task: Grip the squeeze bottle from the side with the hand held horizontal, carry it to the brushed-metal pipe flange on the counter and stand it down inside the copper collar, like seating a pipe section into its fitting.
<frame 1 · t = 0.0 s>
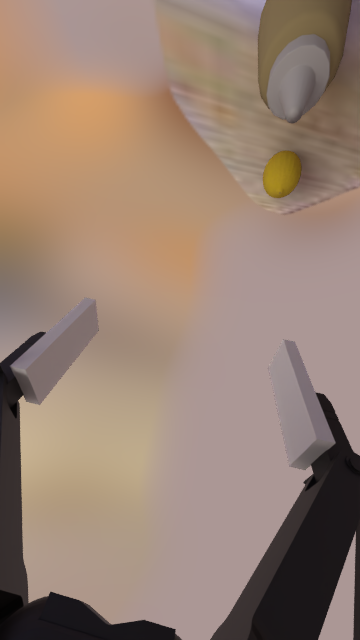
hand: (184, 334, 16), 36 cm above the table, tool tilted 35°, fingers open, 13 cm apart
squeeze bottle: (302, 5, 23), on the table
lemon: (283, 156, 36), on the table
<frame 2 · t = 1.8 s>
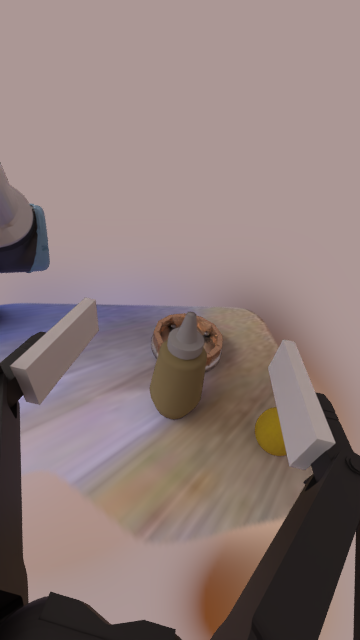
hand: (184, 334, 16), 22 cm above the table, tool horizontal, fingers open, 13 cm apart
squeeze bottle: (172, 403, 36), on the table
lemon: (265, 445, 33), on the table
flange seat: (186, 346, 48), on the table
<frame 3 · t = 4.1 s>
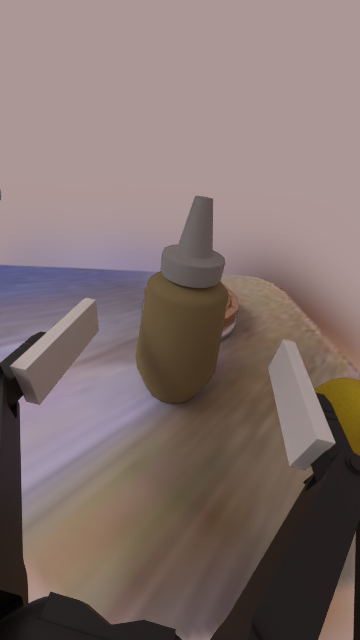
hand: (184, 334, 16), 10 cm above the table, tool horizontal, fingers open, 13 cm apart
squeeze bottle: (171, 382, 24), on the table
lemon: (318, 441, 21), on the table
flange seat: (188, 313, 36), on the table
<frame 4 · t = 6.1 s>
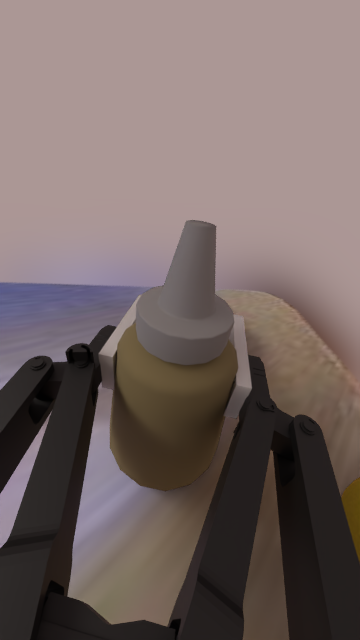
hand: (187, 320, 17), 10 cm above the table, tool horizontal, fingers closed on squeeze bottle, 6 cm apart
squeeze bottle: (160, 449, 19), on the table, touching gripper
lemon: (358, 545, 15), on the table
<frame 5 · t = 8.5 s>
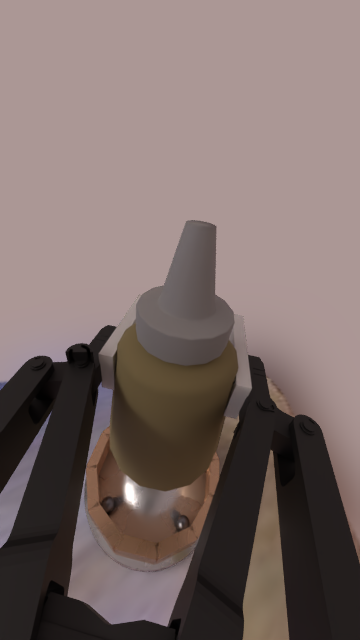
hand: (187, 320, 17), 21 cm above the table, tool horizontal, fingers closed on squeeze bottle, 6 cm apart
squeeze bottle: (160, 449, 19), point 11 cm above the table, touching gripper
flange seat: (153, 476, 26), on the table
when the fingers open (12 cm above the table, at t = 11.1 s): squeeze bottle drops 1 cm, resting on flange seat.
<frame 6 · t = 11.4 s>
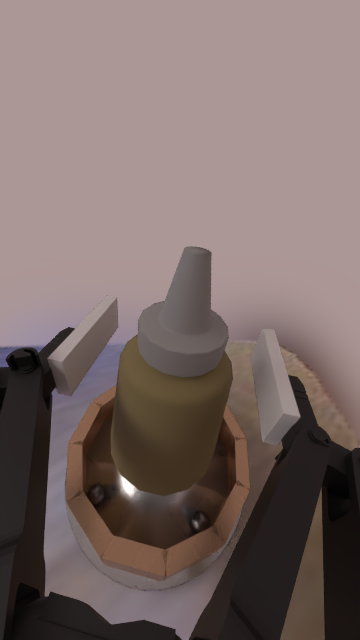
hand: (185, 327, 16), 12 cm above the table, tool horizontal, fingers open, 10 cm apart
squeeze bottle: (159, 455, 19), point 1 cm above the table, touching flange seat
flange seat: (158, 460, 20), on the table
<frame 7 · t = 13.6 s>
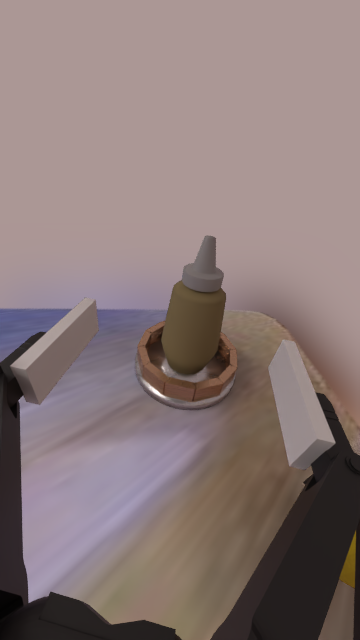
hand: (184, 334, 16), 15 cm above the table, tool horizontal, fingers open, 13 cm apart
squeeze bottle: (185, 361, 33), point 1 cm above the table, touching flange seat
lemon: (325, 547, 19), on the table
flange seat: (185, 365, 34), on the table
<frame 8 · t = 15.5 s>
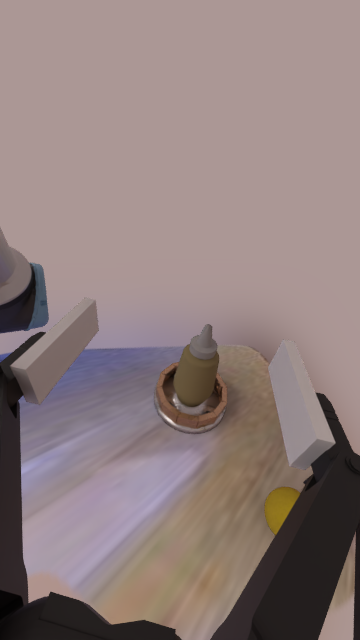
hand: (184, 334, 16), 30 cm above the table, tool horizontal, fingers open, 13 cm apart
squeeze bottle: (190, 395, 46), point 1 cm above the table, touching flange seat
lemon: (275, 522, 32), on the table
flange seat: (189, 398, 46), on the table
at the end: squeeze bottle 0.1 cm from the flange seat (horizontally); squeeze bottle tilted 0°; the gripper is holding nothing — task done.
